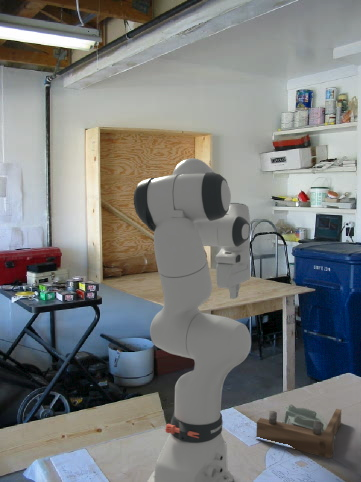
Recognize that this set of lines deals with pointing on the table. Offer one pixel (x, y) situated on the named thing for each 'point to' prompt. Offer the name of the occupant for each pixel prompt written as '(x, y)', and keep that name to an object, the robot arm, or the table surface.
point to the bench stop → (301, 434)
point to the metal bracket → (303, 417)
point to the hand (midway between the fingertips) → (234, 297)
